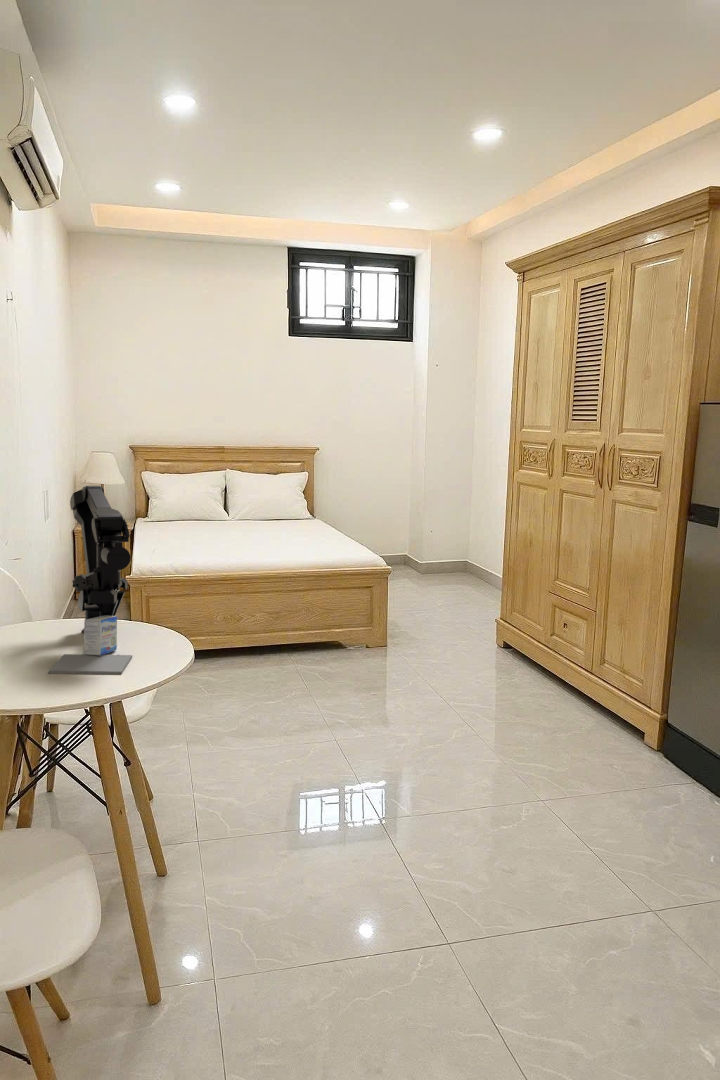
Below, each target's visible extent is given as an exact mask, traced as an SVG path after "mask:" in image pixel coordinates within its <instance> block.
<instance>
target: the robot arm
mask: <svg viewBox="0 0 720 1080" xmlns="http://www.w3.org/2000/svg"><path fill="white" fill-rule="evenodd" d="M69 505H70V510H71V511H72V513H73V518H74V519H75V520H76V522H77V523H78V524H79V525H80V528H81V535H82V536H81V537H82V545H83V553H84V554H83V555H84V563H85V570H86V571H85V574H83V573H81V574H79V575H76V576H75V577H74V578H73V580H72V587H73V588H75V590H76V592H77V593H79V595H78V598H77V603H78V604H77V605H78V609H79V610H80V611H82V612H84V620H87V619H91V618H95V617H99V616H104V615H109V616H117V612H118V610H119V608H120V605H121V602H122V600H123V598H124V596H125V593H126V590H127V589H128V583H129V582H128V580H127V579H126V577H121V571H122V570H124V569H126V568H127V567H128V566H129V565H130V562H131V554H130V552H129V550H128V549H127V548H126V547H124V546H123V543H129V540H130V531H129V526H128V522H127V521H126V519H125V517H123V515H122V513H121V512H120V511H119V510H118V509H114V508H112V506H111V505H110V502H109V501H108V498H107V497H106V494H105V489H104V486H100V485H85V486H82V488H81V489H79V490H77V491H75V492H73V493H72V494H71V496H70V500H69ZM120 588H122V590H120ZM81 633H84V628H83V629H82V630H81Z"/></svg>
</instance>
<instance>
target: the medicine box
mask: <svg viewBox="0 0 720 1080" xmlns="http://www.w3.org/2000/svg"><path fill="white" fill-rule="evenodd" d="M83 627H84V628H83V629H84V634H83V643H84V644H83V645H84V646H83V654H85V655H96V656H102V655H108V654H110V653H112V652H115V651H117V647H118V645H117V644H118V643H117V640H118V616H117V615H115V616H109V615H104V616H99V617H95V618H91V619H87V620H85V619H84V621H83Z"/></svg>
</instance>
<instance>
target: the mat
mask: <svg viewBox="0 0 720 1080" xmlns="http://www.w3.org/2000/svg"><path fill="white" fill-rule="evenodd" d="M132 659H133V655H132V654H104V655H102V656H96V655H85V654H84V653H83V654H79V653H78V654H76V653H73V654H70V653H69V654H68V653H64V654H62V656H61V657H59V659H58V660H57V661H56V662H55V663H54V664H53V665H52V666H51V667H50V668H49V670H48V671H47V672H48V673H47V674H68V675H69V674H72V675H74V674H75V675H78V674H79V675H81V674H83V675H84V674H85V675H122V674H123V673H124V672H125V670H126V668H127V666H128V664H130V662H131V661H132Z"/></svg>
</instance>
